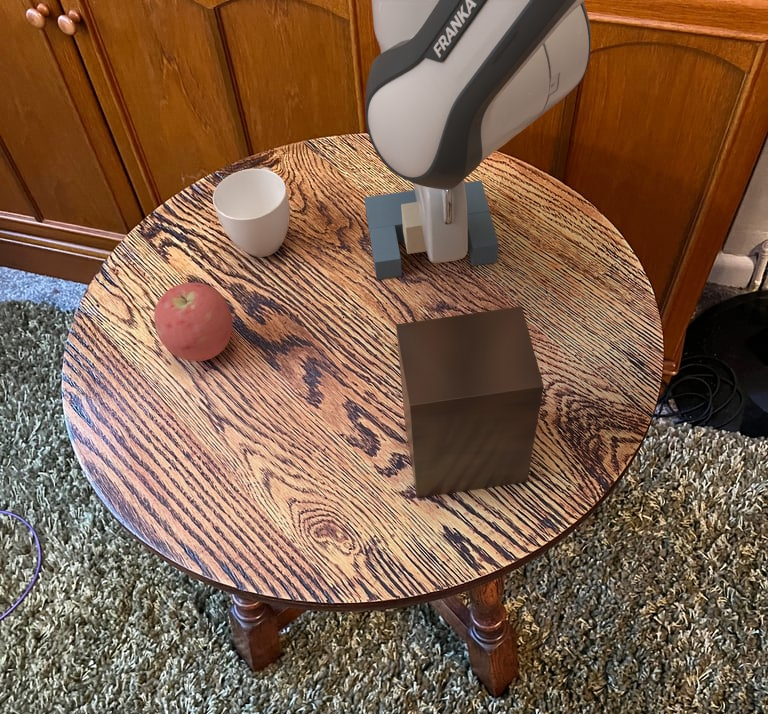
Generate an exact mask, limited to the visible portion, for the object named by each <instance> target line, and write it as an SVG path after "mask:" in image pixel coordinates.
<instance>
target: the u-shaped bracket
mask: <svg viewBox="0 0 768 714" xmlns="http://www.w3.org/2000/svg"><path fill="white" fill-rule="evenodd" d="M464 184H465V191H466V200H467V225H468V251H467V252H468V255H469V259H470V263H471V266H472V267H474V266H481V265H487V264H494V263H498V261H499V246H500V244H499V241H498V237H497V233H496V230H495V226H494V221H493V219H492V214H491V210H490V206H489V203H488V198H487V196H486V192H485V188H484V184H483V181H482V179H480V180H475V181H474V180H473V181H468V182H464ZM363 199H364V207H365V213H366V214H365V216H366V221H367V222H366V223H367V229H368V234H369V235H368V236H369V240H370V247H371V253H372V259H373V266H374V272H375V278H376V281H378V280H386V279H392V278H400V277H403V271H402V257H401V252H400V251H401V250H400V247H399V244H400V243H405V239H404V234H403V224H402V209H401V204H407V203H413V202H417V200H416V195H415V191H414V189H412V190H405V191H399V192H392V193H385V194H377V195H370V196H365V197H364V198H363Z"/></svg>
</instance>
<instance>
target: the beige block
mask: <svg viewBox="0 0 768 714" xmlns="http://www.w3.org/2000/svg"><path fill="white" fill-rule="evenodd" d="M401 209H402V224H403V234H404V239H405V242H404V244H405V249H406V253H407V254H408V255H409V254H418V253H424V252H427V249H426V244H425V239H424V234H423V229H422V225H421V220H420V215H419V210H418V205H417V202H413V203H407V204H401Z"/></svg>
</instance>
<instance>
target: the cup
mask: <svg viewBox="0 0 768 714" xmlns="http://www.w3.org/2000/svg"><path fill="white" fill-rule="evenodd" d="M212 203H213V207H214V211H215V214H216V216H217V219H218V221H219V224H220V226H221V228H222V230H223V231H224V233H225V234H226V235H227V237H228V238H229V239H230V240H231V242H232V243H233V244H234V245H235V246H236V247H237V248H239V249H240V250H242V251H243V252H245V253H247V254H248V255H250V256H252V257H254V258H255V257H257V258H264V257H265V258H266V257H269V256H271V255H273V254H275V253H276V252H277V251H279V249H280V248H281V246H282V244H283V243H284V241H285V239H286V237H287V234H288V231H289V227H290V221H291V205H290V199H289V194H288V191H287V185H286V183H285V181H284V179H283V178H282V177H281V176H280V175H279V174H277V172H274V171H273V170H272V168H271V167H267V166H263V167H261V168H246V169H242V170H239V171H236V172H234V173H231V174H230V175H228V176H226V177H225V178H223V179H222V180H221V181H220V182H219V183H218V184H217V186H216V187H215V189H214V191H213V194H212Z"/></svg>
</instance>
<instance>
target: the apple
mask: <svg viewBox="0 0 768 714" xmlns="http://www.w3.org/2000/svg"><path fill="white" fill-rule="evenodd" d="M153 314H154V315H153V320H154V326H155V327H154V328H155V331H156V333H157V336H158V339H159V340H160V342H161V344H162V345H163V346H164V347H165V348H166V350H167V351H168V352H169V353H170V354H172V355H174V356H176V357H177V358H179V359H182V360H185V361H190V362H204V361H207V360H211V359H213V358H215V357H217V356H218V355H219V354H221V353H222V352H223V351H224V350H225V348H226V347H227V346H228V344H229V342H230V340H231V337H232V333H233V328H234V322H233V315H232V311H231V308H230V306H229V304H228V302H227V300H226V298H225V297H224V296H223V294H221V292H219V291H218V290H217V289H216V288H215V287H213V286H210V285H208V284H207V283H201V282H182V283H180V284H176V285H174V286H173V287H171V288H168V289H167V290H166V292H164V293H163V294H162V296H161V297H160V298H159V300H158V301H157V303H156V305H155V309H154V313H153Z"/></svg>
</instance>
